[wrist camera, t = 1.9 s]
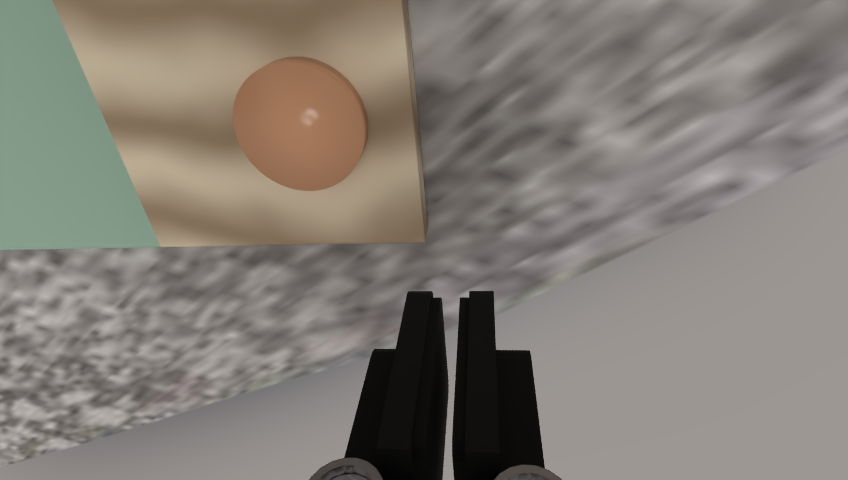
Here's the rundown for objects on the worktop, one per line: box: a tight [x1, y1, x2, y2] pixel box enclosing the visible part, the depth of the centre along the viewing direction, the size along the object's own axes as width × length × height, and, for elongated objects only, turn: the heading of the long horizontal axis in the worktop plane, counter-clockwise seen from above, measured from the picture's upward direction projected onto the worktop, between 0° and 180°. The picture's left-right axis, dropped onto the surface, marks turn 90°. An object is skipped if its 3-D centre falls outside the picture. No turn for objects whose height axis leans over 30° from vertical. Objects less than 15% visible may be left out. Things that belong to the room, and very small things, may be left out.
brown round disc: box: [233, 56, 368, 191], centre depth 26 cm, size 7×7×2 cm
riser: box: [52, 0, 428, 247], centre depth 28 cm, size 16×18×2 cm
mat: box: [0, 0, 160, 250], centre depth 31 cm, size 18×16×1 cm
